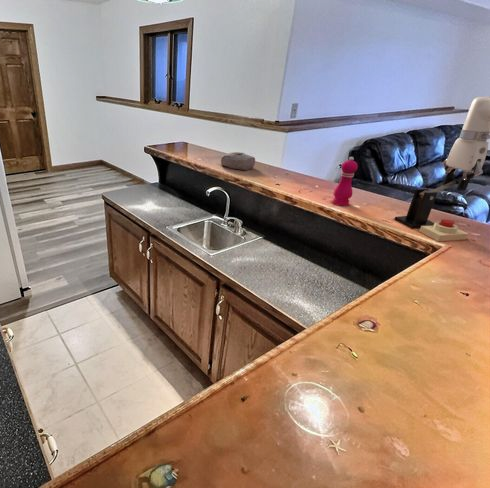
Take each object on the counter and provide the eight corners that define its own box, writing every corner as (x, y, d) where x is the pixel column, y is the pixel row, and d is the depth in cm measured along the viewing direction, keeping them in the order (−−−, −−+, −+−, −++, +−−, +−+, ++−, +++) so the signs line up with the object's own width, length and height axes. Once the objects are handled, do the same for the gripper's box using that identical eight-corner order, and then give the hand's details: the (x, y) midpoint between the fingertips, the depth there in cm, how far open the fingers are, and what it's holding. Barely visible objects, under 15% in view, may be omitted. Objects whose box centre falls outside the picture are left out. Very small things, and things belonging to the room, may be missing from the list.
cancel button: (445, 223, 122) (447, 219, 121) (455, 227, 119) (457, 223, 118) (436, 224, 121) (438, 219, 121) (445, 228, 118) (447, 223, 117)
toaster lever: (452, 181, 129) (452, 176, 127) (464, 185, 124) (464, 180, 123) (415, 197, 129) (415, 192, 128) (426, 202, 125) (426, 196, 124)
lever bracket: (417, 218, 136) (428, 186, 130) (436, 227, 128) (449, 194, 122) (394, 219, 135) (404, 187, 129) (412, 228, 127) (424, 195, 121)
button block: (445, 230, 126) (450, 219, 124) (466, 239, 119) (470, 228, 117) (418, 231, 124) (422, 221, 123) (437, 241, 117) (442, 230, 116)
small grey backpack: (257, 167, 205) (228, 161, 217) (259, 153, 201) (230, 148, 214) (243, 172, 195) (214, 165, 207) (245, 157, 191) (215, 151, 204)
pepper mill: (337, 199, 155) (348, 154, 146) (353, 204, 149) (365, 157, 140) (327, 202, 151) (338, 156, 142) (343, 207, 146) (355, 159, 137)
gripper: (508, 140, 112) (485, 194, 120) (460, 132, 127) (442, 180, 135) (488, 140, 111) (466, 195, 119) (442, 132, 126) (425, 181, 134)
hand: (453, 187), depth 127 cm, fingers closed on toaster lever, 5 cm apart
